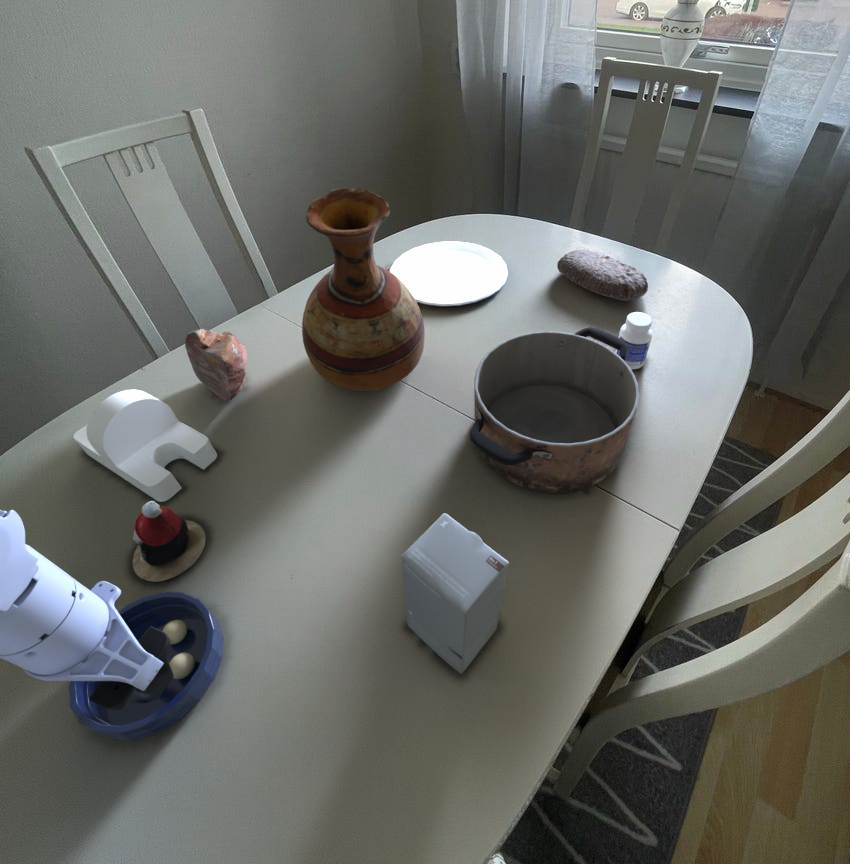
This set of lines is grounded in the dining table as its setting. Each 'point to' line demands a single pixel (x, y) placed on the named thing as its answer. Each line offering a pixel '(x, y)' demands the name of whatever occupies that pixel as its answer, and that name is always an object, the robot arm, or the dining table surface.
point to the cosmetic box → (453, 590)
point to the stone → (217, 361)
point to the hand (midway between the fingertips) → (128, 669)
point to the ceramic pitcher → (359, 300)
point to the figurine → (165, 543)
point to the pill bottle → (636, 338)
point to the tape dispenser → (142, 441)
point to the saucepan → (554, 409)
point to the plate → (450, 273)
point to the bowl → (179, 693)
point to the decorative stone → (603, 275)
